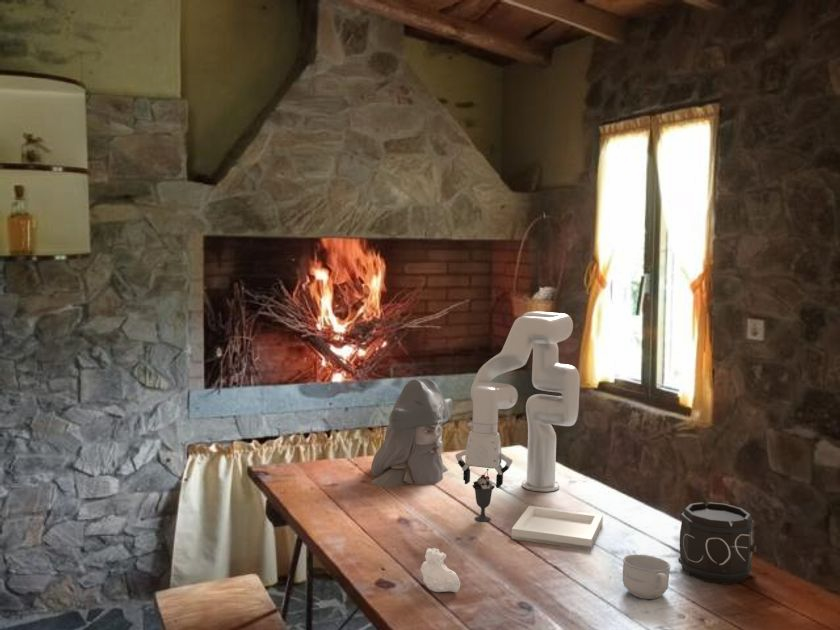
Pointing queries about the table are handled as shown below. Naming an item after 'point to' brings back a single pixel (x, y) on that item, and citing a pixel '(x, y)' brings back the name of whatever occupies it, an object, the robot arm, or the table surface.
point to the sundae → (483, 495)
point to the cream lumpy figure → (438, 573)
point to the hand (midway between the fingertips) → (482, 485)
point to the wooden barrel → (716, 542)
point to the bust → (413, 437)
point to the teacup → (645, 575)
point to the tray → (558, 527)
